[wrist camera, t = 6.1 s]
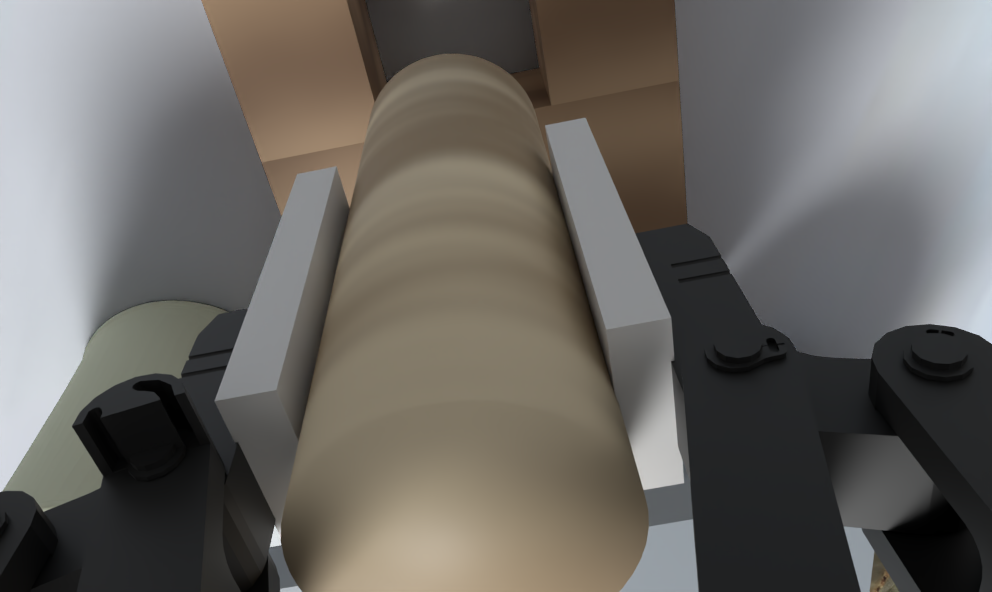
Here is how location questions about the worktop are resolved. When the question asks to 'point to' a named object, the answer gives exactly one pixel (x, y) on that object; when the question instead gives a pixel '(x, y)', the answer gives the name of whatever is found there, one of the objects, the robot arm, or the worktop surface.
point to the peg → (460, 367)
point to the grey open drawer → (664, 547)
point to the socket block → (551, 88)
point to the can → (106, 362)
